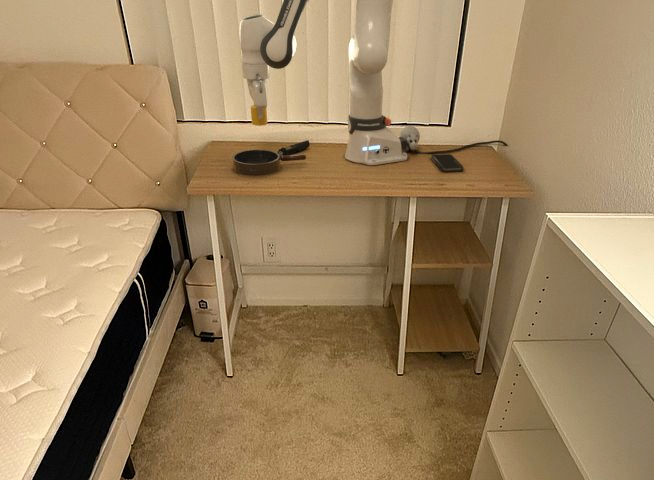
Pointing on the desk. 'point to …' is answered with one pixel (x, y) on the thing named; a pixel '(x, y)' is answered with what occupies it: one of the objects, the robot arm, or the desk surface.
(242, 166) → the pan
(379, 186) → the desk surface
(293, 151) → the electric trimmer
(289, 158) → the pan handle
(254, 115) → the yellow pepper
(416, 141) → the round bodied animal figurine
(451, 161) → the phone
